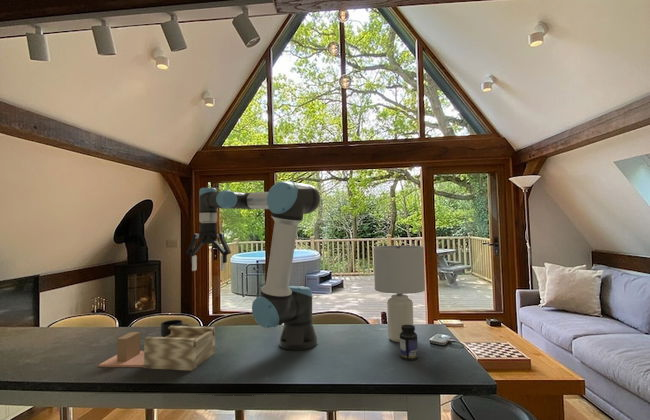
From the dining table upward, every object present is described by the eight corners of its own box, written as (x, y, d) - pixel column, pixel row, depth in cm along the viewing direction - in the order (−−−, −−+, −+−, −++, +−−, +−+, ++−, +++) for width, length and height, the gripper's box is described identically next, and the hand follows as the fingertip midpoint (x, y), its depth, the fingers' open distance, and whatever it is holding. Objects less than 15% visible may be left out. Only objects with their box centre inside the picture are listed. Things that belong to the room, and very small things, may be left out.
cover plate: (164, 354, 137) (164, 329, 137) (143, 368, 123) (143, 341, 123) (123, 353, 138) (123, 329, 138) (98, 368, 124) (99, 341, 125)
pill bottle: (418, 355, 129) (417, 324, 129) (417, 361, 123) (416, 329, 124) (401, 353, 131) (400, 323, 131) (399, 359, 125) (398, 327, 126)
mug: (182, 350, 139) (182, 326, 139) (156, 348, 142) (156, 324, 142) (195, 343, 147) (195, 320, 147) (169, 342, 150) (169, 319, 150)
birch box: (215, 353, 135) (214, 326, 135) (192, 370, 119) (192, 340, 120) (171, 351, 138) (171, 325, 138) (144, 368, 122) (144, 338, 123)
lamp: (376, 347, 138) (374, 246, 140) (375, 331, 158) (373, 244, 160) (430, 348, 136) (427, 246, 137) (422, 332, 156) (419, 243, 158)
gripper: (238, 222, 161) (238, 269, 160) (187, 223, 165) (187, 269, 164) (231, 221, 153) (231, 271, 152) (177, 223, 157) (177, 271, 156)
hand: (208, 270), depth 158 cm, fingers open, 13 cm apart
